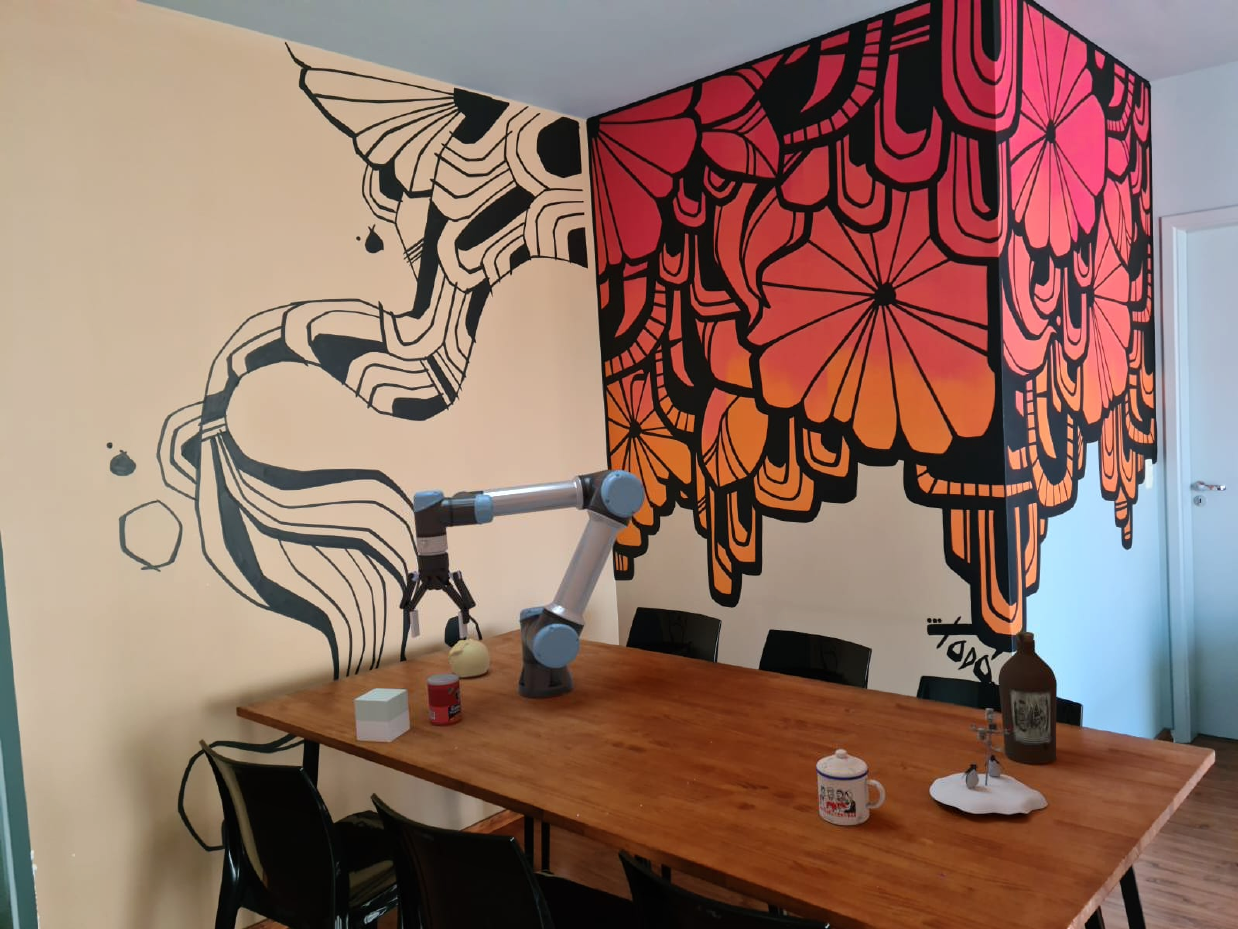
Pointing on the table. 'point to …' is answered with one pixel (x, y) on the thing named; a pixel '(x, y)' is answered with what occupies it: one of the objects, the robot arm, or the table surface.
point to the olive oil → (1028, 704)
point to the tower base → (383, 729)
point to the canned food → (444, 699)
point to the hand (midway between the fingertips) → (439, 636)
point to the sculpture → (469, 658)
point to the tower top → (381, 705)
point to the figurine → (987, 784)
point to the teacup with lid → (845, 789)
